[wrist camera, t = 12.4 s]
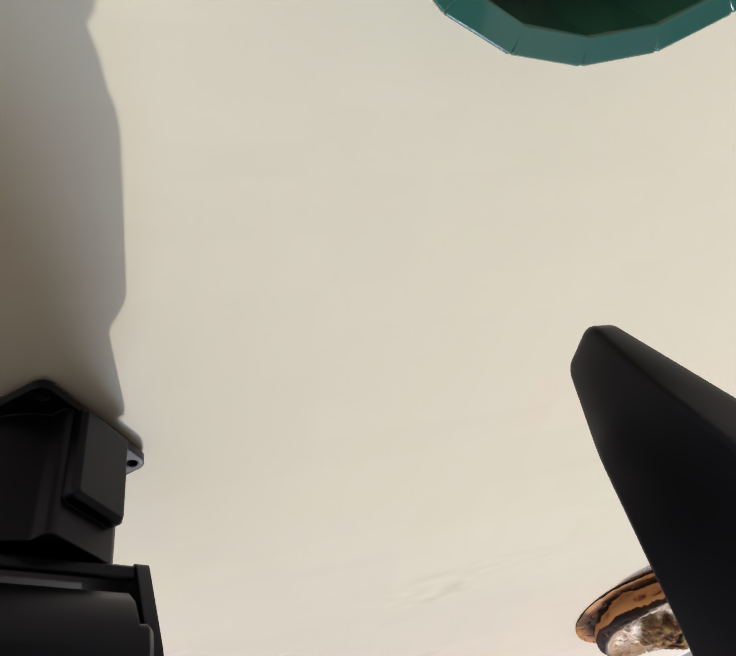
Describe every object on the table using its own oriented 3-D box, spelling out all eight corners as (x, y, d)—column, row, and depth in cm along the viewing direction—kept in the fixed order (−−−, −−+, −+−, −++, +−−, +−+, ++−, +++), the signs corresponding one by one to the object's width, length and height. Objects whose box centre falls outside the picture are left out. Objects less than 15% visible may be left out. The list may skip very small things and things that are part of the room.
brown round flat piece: (549, 650, 60) (569, 698, 57) (627, 565, 51) (656, 617, 48) (675, 631, 64) (699, 675, 61) (766, 551, 55) (801, 597, 52)
